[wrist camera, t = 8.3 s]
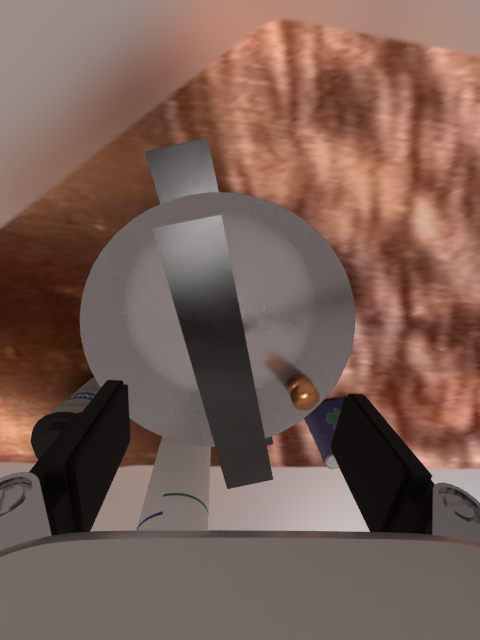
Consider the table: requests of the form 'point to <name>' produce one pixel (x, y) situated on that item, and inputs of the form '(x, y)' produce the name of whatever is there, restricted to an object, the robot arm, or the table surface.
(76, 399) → the coffee cup
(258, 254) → the lid
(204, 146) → the cooker pot
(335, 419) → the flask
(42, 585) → the robot arm
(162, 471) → the cylindrical container
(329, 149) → the table surface
